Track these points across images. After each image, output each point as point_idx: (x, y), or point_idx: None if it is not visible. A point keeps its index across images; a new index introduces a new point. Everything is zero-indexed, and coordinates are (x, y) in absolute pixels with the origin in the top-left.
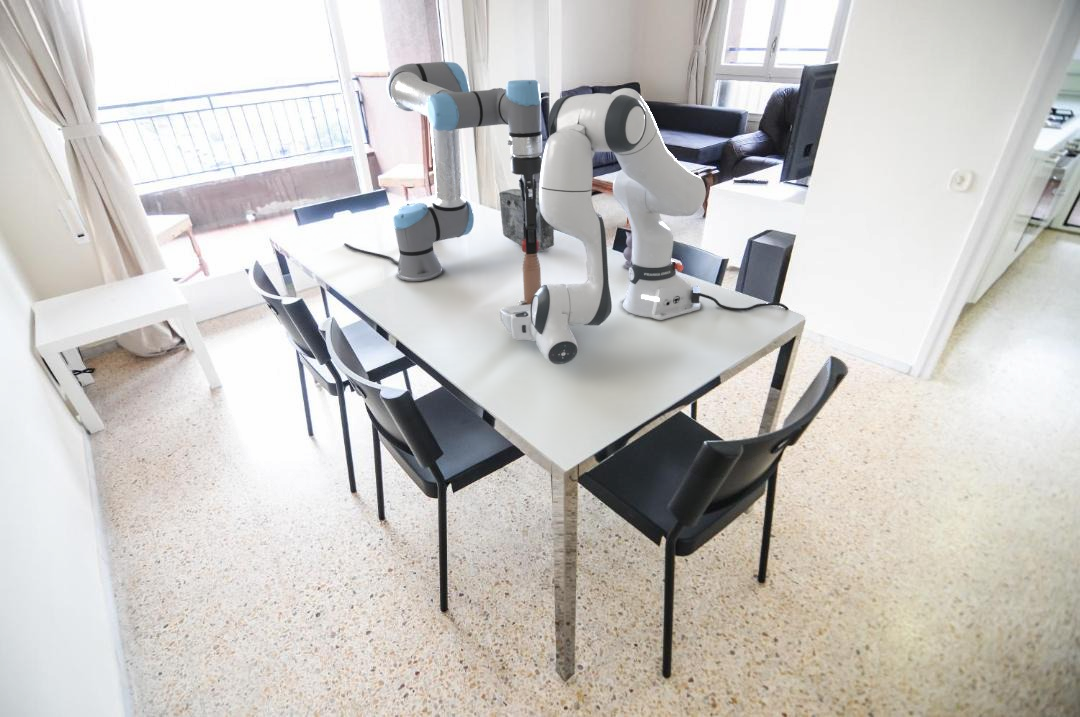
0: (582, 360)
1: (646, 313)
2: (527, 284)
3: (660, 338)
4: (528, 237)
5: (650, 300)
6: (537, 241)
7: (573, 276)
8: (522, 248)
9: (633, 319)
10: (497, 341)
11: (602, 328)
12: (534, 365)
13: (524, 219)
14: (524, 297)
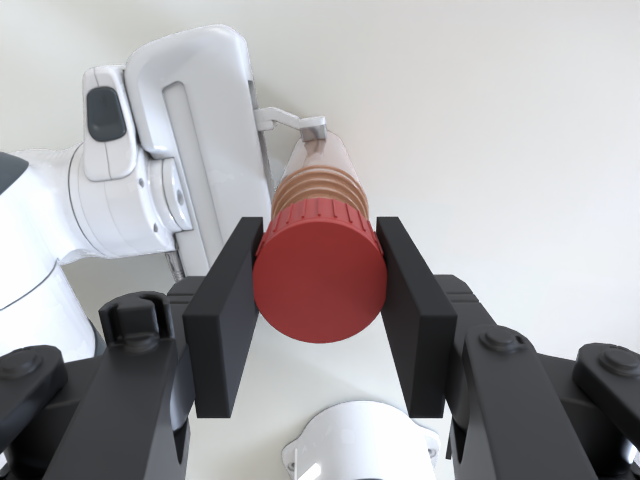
0: (98, 257)
1: (303, 438)
2: (286, 168)
3: (198, 430)
4: (192, 296)
5: (302, 476)
6: (285, 333)
7: (629, 322)
8: (318, 201)
9: (298, 404)
10: (215, 18)
11: (262, 332)
12: (67, 130)
13: (466, 360)
14: (313, 142)
